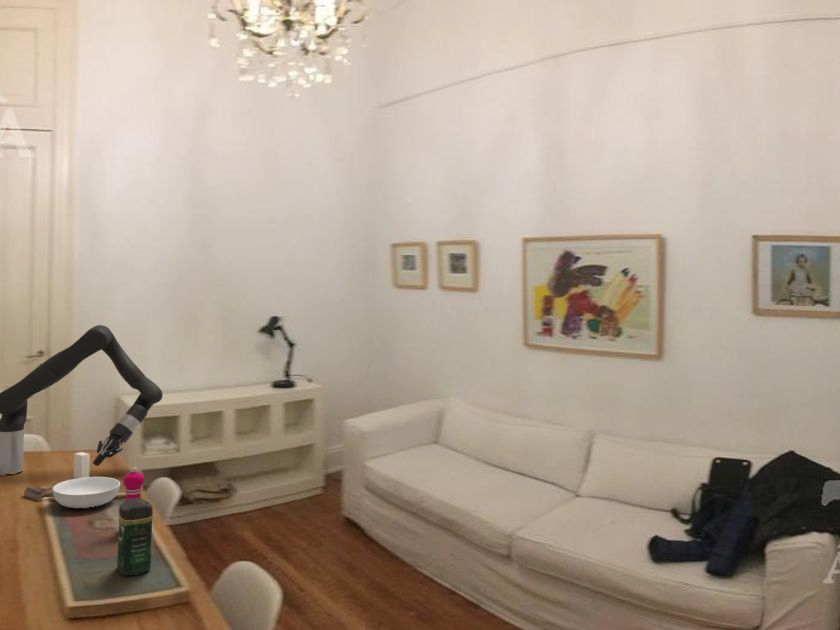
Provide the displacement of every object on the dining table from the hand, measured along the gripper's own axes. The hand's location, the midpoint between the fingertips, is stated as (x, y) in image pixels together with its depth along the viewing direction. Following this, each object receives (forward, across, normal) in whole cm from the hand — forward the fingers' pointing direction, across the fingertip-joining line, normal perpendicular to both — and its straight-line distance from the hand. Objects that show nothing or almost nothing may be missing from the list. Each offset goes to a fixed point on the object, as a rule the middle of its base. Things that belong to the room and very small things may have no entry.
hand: (95, 464), depth 244 cm
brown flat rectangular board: (+14, 0, -4) cm, 14 cm away
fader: (+7, 0, 0) cm, 7 cm away
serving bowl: (+16, +20, -6) cm, 27 cm away
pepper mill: (+21, +54, -10) cm, 59 cm away
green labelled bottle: (+33, +79, -22) cm, 88 cm away
